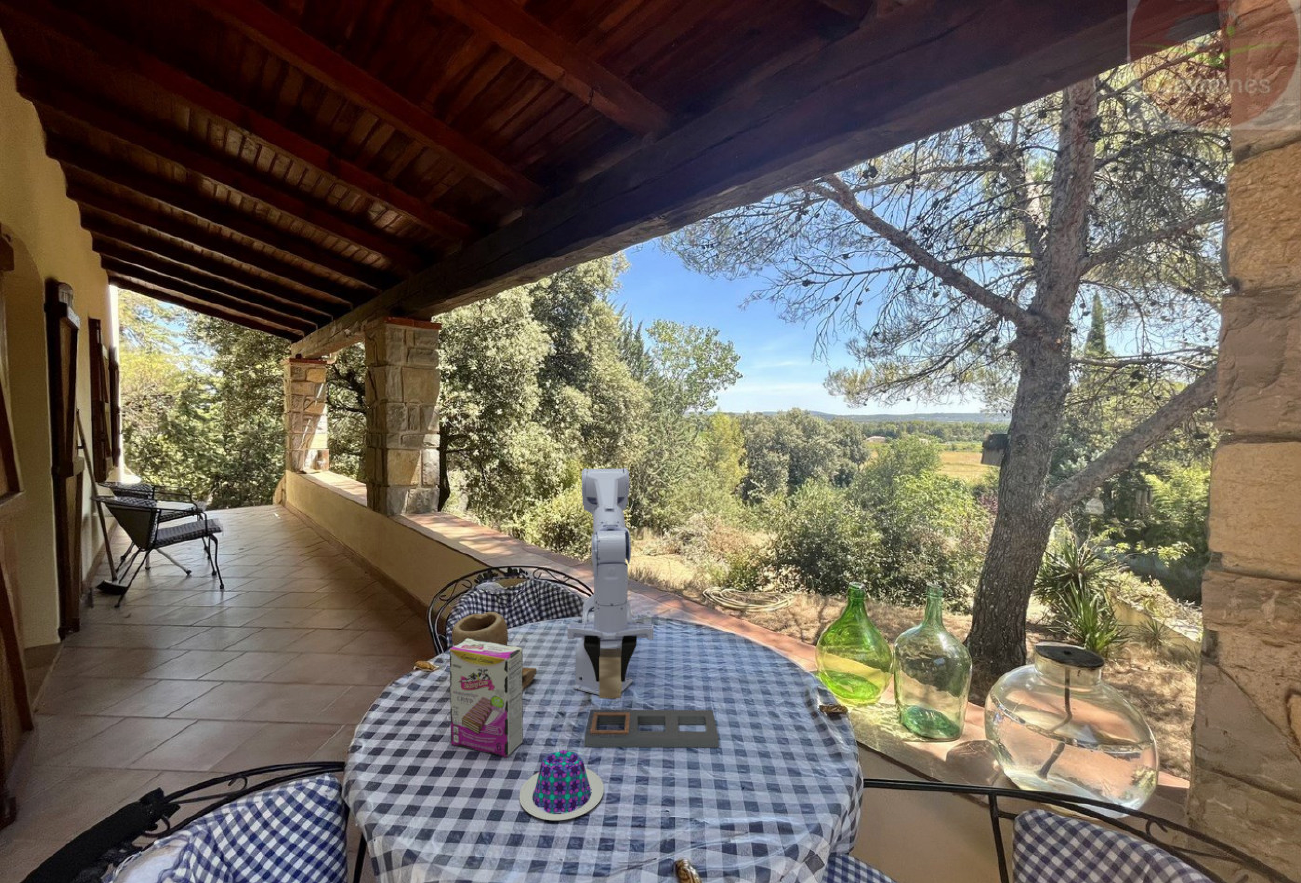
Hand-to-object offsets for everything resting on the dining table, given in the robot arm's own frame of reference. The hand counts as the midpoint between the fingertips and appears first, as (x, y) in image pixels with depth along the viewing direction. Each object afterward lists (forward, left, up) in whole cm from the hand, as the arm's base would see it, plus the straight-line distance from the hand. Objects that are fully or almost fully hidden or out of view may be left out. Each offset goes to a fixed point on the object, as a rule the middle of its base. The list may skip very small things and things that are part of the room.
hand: (610, 679), depth 99 cm
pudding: (+1, -17, -10) cm, 20 cm away
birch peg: (0, 0, -2) cm, 2 cm away
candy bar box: (-17, -12, -10) cm, 23 cm away
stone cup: (-29, +3, -10) cm, 30 cm away
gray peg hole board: (+6, +3, -9) cm, 12 cm away
